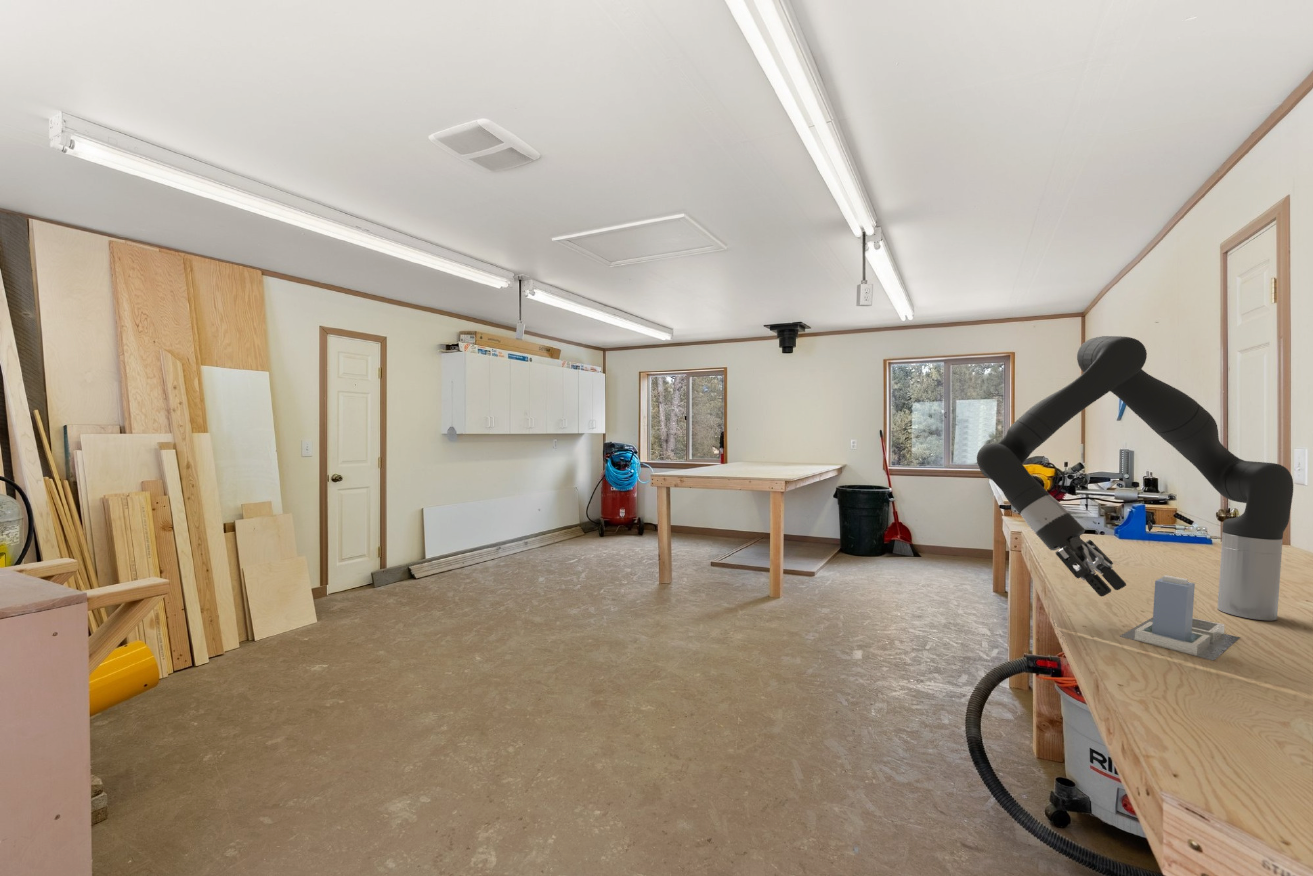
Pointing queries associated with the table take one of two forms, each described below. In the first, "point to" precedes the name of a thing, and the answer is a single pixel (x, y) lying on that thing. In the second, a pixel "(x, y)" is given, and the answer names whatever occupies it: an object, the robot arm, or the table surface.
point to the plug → (1173, 608)
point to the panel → (1203, 643)
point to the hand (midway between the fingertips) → (1114, 591)
